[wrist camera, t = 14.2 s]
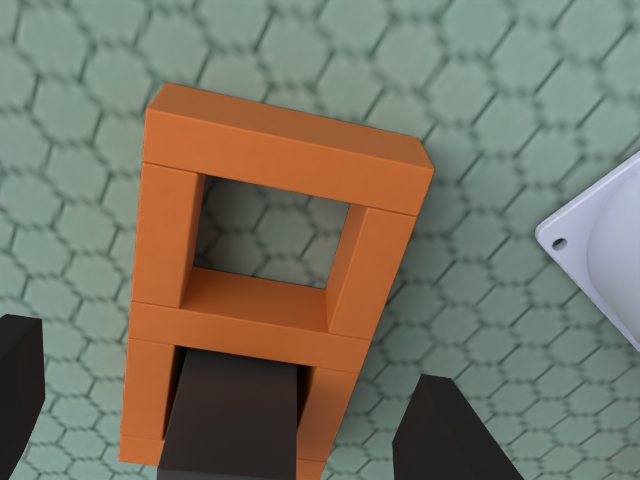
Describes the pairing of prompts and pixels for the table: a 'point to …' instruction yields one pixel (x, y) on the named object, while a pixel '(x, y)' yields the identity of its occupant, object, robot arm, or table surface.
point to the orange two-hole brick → (256, 293)
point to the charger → (232, 420)
